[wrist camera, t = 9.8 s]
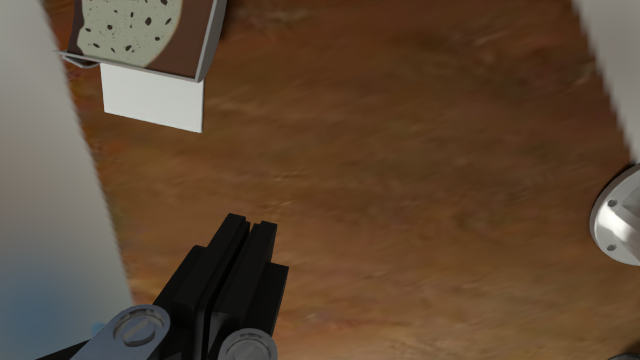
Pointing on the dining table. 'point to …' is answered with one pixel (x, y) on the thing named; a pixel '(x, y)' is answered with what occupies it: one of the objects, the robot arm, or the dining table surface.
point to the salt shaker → (626, 357)
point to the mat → (153, 97)
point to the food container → (147, 35)
